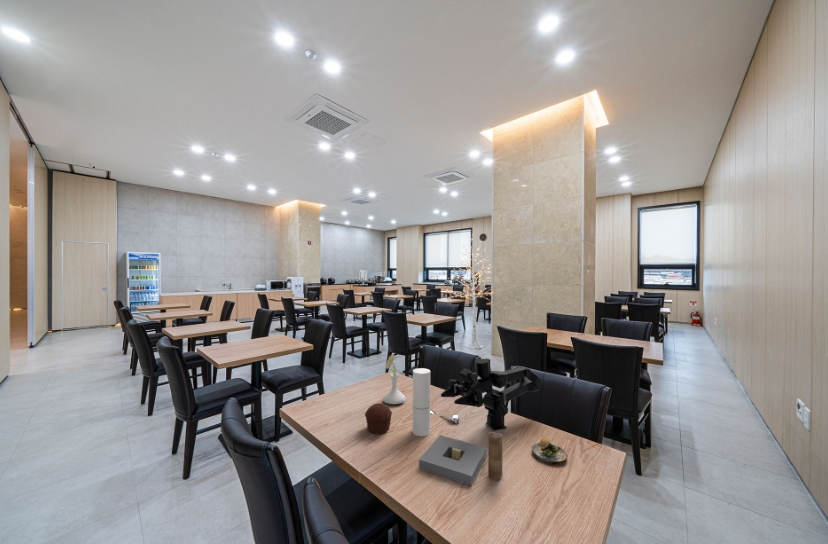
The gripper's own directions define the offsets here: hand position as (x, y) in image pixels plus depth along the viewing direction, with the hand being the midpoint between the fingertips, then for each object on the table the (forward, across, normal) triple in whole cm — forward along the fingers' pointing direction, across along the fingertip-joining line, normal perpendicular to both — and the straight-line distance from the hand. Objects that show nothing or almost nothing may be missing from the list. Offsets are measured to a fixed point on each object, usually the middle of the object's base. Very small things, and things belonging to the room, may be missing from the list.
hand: (447, 398), depth 122 cm
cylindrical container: (+8, -12, +15) cm, 21 cm away
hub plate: (+8, +11, +16) cm, 21 cm away
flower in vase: (+5, -44, +13) cm, 46 cm away
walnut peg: (+1, +23, +18) cm, 29 cm away
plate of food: (-24, +24, +22) cm, 40 cm away
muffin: (+22, -22, +12) cm, 34 cm away
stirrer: (-8, -20, +17) cm, 27 cm away
